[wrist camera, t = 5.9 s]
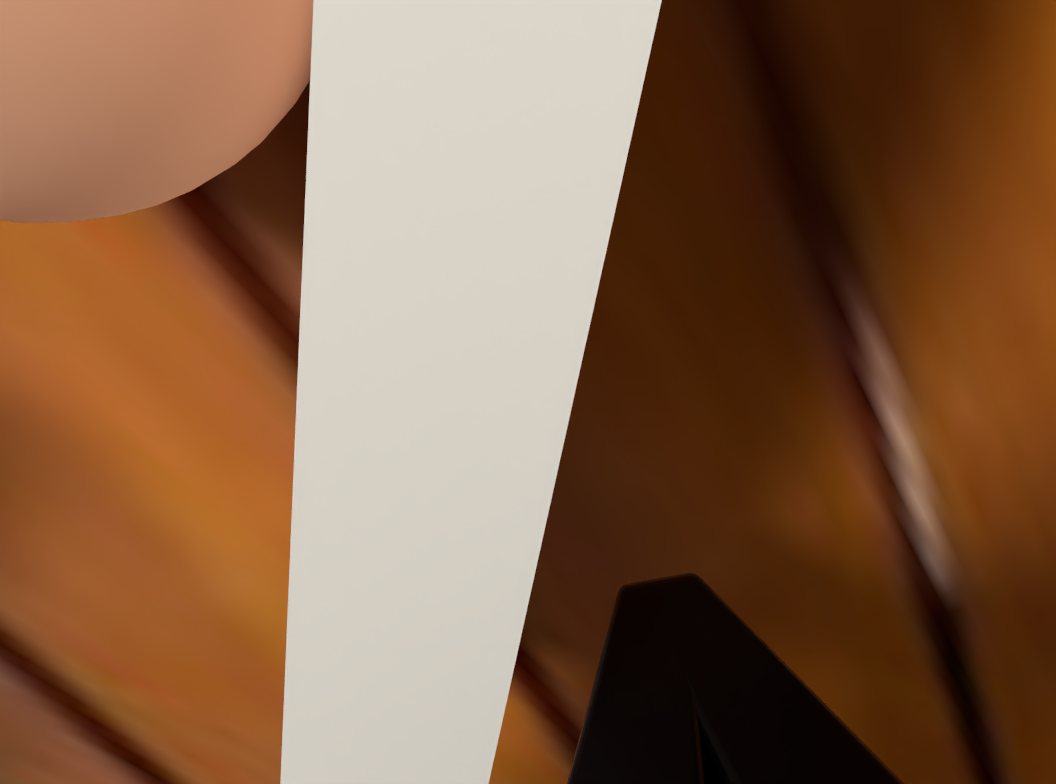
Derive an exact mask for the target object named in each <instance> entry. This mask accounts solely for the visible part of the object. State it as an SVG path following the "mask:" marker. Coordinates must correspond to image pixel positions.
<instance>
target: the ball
mask: <svg viewBox="0 0 1056 784" xmlns="http://www.w3.org/2000/svg"><path fill="white" fill-rule="evenodd" d="M313 1H314V0H0V220H4V221H13V222H22V223H40V222H74V221H82V220H90V219H97V218H105V217H112V216H119V215H123V214H126V213H130V212H134V211H138V210H141V209H145V208H149V207H152V206H156V205H159V204H161V203H164V202H166V201H168V200H171V199H173V198H175V197H178V196H180V195H182V194H185V193H187V192H190V191H192V190H194V189H195V188H197V187H198V186H200V185H202V184H203V183H205V182H207V181H208V180H210V179H212V178H213V177H215V176H217V175H218V174H220V173H222V172H223V171H225V170H227V169H228V168H230V167H231V166H233V165H235V164H236V163H237V162H238V161H240V160H241V159H242V158H243V157H244V156H246V155H247V154H248V153H249V152H250V151H252V150H253V149H254V148H255V147H256V146H258V145H259V144H260V143H261V142H262V141H263V140H264V139H265V138H266V137H267V136H268V134H269V133H270V132H271V131H272V130H273V129H274V128H275V127H276V125H277V124H278V123H279V122H280V121H281V120H282V119H283V117H284V116H285V115H286V114H287V113H288V112H289V110H290V109H291V108H292V107H293V106H294V105H295V103H296V102H297V100H298V98H299V97H300V95H301V94H302V92H303V90H304V89H305V87H306V86H307V84H308V82H309V81H310V72H311V48H312V25H313Z"/></svg>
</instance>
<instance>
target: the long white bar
mask: <svg viewBox="0 0 1056 784" xmlns="http://www.w3.org/2000/svg"><path fill="white" fill-rule="evenodd" d="M661 2H662V0H314V1H313V25H312V48H311V72H310V96H309V119H308V143H307V167H306V191H305V214H304V238H303V262H302V285H301V309H300V333H299V356H298V380H297V404H296V428H295V451H294V475H293V499H292V522H291V546H290V570H289V594H288V617H287V641H286V665H285V688H284V712H283V736H282V759H281V783H280V784H489V779H490V775H491V770H492V766H493V761H494V757H495V752H496V748H497V743H498V738H499V734H500V729H501V725H502V720H503V716H504V711H505V707H506V702H507V698H508V693H509V689H510V684H511V680H512V675H513V671H514V666H515V662H516V657H517V653H518V648H519V644H520V639H521V635H522V630H523V625H524V621H525V616H526V612H527V607H528V603H529V598H530V594H531V589H532V585H533V580H534V576H535V571H536V567H537V562H538V558H539V553H540V549H541V544H542V540H543V535H544V531H545V526H546V522H547V517H548V512H549V508H550V503H551V499H552V494H553V490H554V485H555V481H556V476H557V472H558V467H559V463H560V458H561V454H562V449H563V445H564V440H565V436H566V431H567V427H568V422H569V418H570V413H571V408H572V404H573V399H574V395H575V390H576V386H577V381H578V377H579V372H580V368H581V363H582V359H583V354H584V350H585V345H586V341H587V336H588V332H589V327H590V323H591V318H592V314H593V309H594V305H595V300H596V295H597V291H598V286H599V282H600V277H601V273H602V268H603V264H604V259H605V255H606V250H607V246H608V241H609V237H610V232H611V228H612V223H613V219H614V214H615V210H616V205H617V201H618V196H619V191H620V187H621V182H622V178H623V173H624V169H625V164H626V160H627V155H628V151H629V146H630V142H631V137H632V133H633V128H634V124H635V119H636V115H637V110H638V106H639V101H640V97H641V92H642V88H643V83H644V78H645V74H646V69H647V65H648V60H649V56H650V51H651V47H652V42H653V38H654V33H655V29H656V24H657V20H658V15H659V11H660V6H661Z"/></svg>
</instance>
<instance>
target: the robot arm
mask: <svg viewBox="0 0 1056 784" xmlns="http://www.w3.org/2000/svg"><path fill="white" fill-rule="evenodd" d="M567 784H904V783H903V782H902V781H901V780H900V779H899V778H898V777H897V776H896V775H895V774H894V773H893V772H892V771H891V770H890V769H889V768H888V767H887V766H886V765H885V764H884V763H883V762H882V761H881V760H880V759H879V758H878V757H877V756H876V755H875V754H874V753H873V752H872V751H871V750H870V749H869V748H868V747H867V746H866V745H865V744H864V743H863V742H862V741H861V740H860V739H859V738H858V737H857V736H856V735H855V734H854V733H853V732H852V731H851V730H850V728H849V727H848V726H847V725H846V724H845V723H844V722H843V721H842V720H841V719H840V718H839V717H838V716H837V715H836V714H835V713H834V712H833V711H832V710H831V709H830V708H829V707H828V706H827V705H826V704H825V703H824V702H823V701H822V700H821V699H820V698H819V697H818V696H817V695H816V694H815V693H814V692H813V691H812V690H811V689H810V688H809V687H808V686H807V685H806V684H805V683H804V682H803V681H802V680H801V679H800V678H799V677H798V676H797V675H796V674H795V673H794V672H793V671H792V670H791V669H790V668H789V667H788V666H787V665H786V664H785V663H784V662H783V661H782V660H781V659H780V658H779V657H778V656H777V655H776V654H775V653H774V652H773V651H772V650H771V649H770V648H769V647H768V646H767V645H766V644H765V643H764V642H763V640H762V639H761V638H760V637H759V636H758V635H757V634H756V633H755V632H754V631H753V630H752V629H751V628H750V627H749V626H748V625H747V624H746V623H745V622H744V621H743V620H742V619H741V618H740V617H739V616H738V615H737V614H736V613H735V612H734V611H733V610H732V609H731V608H730V607H729V606H728V605H727V604H726V603H725V602H724V601H723V600H722V599H721V598H720V597H719V596H718V595H717V594H716V593H715V592H714V591H713V590H712V589H711V588H710V587H709V586H708V585H707V584H706V583H705V582H704V581H703V580H702V579H701V578H700V577H699V576H697V575H696V574H693V573H686V574H681V575H675V576H669V577H664V578H658V579H653V580H647V581H642V582H636V583H631V584H626V585H624V586H622V587H621V588H620V590H619V592H618V595H617V599H616V603H615V606H614V610H613V614H612V617H611V621H610V625H609V629H608V632H607V636H606V640H605V644H604V647H603V651H602V655H601V658H600V662H599V666H598V670H597V673H596V677H595V681H594V685H593V688H592V692H591V696H590V700H589V703H588V707H587V711H586V714H585V718H584V722H583V726H582V729H581V733H580V737H579V741H578V744H577V748H576V752H575V755H574V759H573V763H572V767H571V770H570V774H569V778H568V782H567Z"/></svg>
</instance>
